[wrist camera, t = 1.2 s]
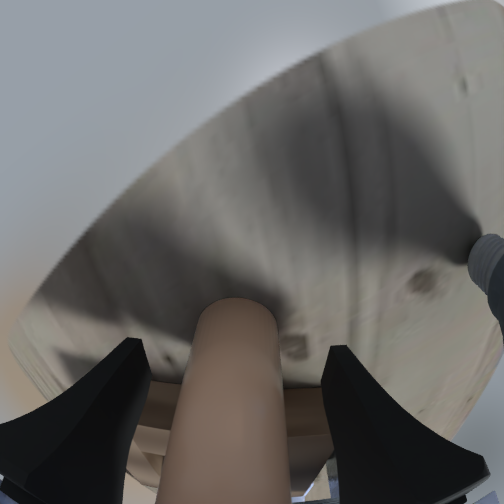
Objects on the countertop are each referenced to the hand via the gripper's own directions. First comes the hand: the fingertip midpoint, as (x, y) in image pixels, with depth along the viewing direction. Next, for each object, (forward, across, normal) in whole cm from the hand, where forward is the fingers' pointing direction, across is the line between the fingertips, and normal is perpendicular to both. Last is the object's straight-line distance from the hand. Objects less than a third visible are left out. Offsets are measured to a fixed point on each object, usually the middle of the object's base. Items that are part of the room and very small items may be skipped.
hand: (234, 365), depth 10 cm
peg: (+2, 0, 0) cm, 2 cm away
